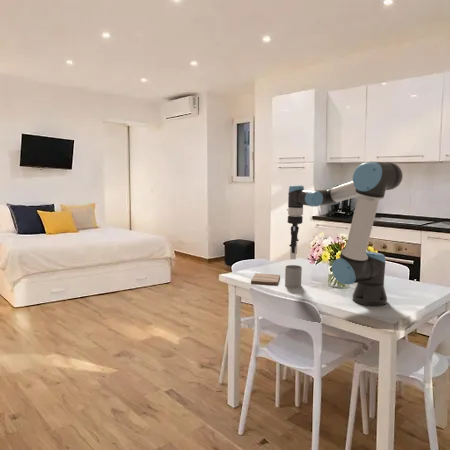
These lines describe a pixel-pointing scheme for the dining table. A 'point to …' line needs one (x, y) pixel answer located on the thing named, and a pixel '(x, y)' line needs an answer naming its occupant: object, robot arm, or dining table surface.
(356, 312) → the dining table surface
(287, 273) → the cup
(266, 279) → the walnut board
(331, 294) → the dining table surface
